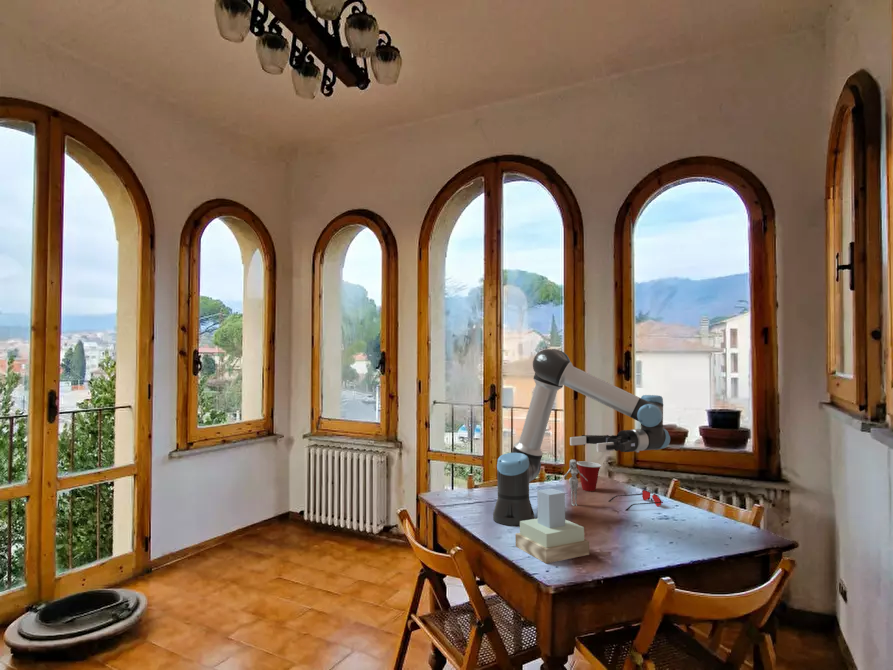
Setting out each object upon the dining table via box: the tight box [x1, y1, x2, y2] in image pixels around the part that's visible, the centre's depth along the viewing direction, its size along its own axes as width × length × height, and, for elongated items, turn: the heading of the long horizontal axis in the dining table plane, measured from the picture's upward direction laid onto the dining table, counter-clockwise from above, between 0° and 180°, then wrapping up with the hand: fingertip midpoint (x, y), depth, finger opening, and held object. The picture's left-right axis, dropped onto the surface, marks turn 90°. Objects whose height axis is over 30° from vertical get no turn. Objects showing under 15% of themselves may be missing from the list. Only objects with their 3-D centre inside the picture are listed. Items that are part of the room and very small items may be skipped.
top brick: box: [519, 517, 585, 548], centre depth 168 cm, size 14×14×4 cm
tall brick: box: [536, 488, 566, 528], centre depth 168 cm, size 6×6×10 cm
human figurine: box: [559, 459, 588, 507], centre depth 220 cm, size 12×4×18 cm, turn 97°
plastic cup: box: [576, 460, 602, 492], centre depth 243 cm, size 11×11×12 cm
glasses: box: [608, 489, 664, 511], centre depth 219 cm, size 14×16×5 cm
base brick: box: [515, 532, 590, 564], centre depth 168 cm, size 16×16×4 cm
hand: (583, 444), depth 181 cm, fingers open, 13 cm apart
